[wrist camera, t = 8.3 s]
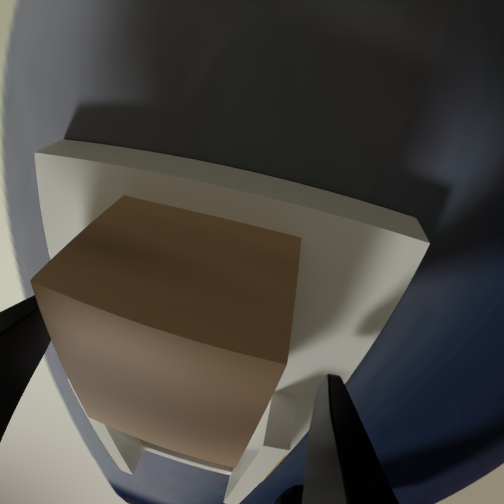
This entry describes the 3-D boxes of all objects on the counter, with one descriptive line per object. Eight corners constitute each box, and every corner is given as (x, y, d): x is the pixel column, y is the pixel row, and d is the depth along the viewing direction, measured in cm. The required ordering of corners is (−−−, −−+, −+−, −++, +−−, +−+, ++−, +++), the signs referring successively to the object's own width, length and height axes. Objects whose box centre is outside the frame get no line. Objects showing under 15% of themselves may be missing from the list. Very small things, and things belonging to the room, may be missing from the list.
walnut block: (257, 372, 12) (235, 467, 8) (133, 335, 12) (88, 417, 8) (301, 237, 8) (287, 364, 5) (123, 195, 8) (30, 280, 5)
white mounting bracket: (265, 465, 21) (256, 509, 18) (121, 423, 22) (103, 462, 18) (416, 218, 9) (460, 306, 5) (62, 139, 9) (-22, 183, 6)
